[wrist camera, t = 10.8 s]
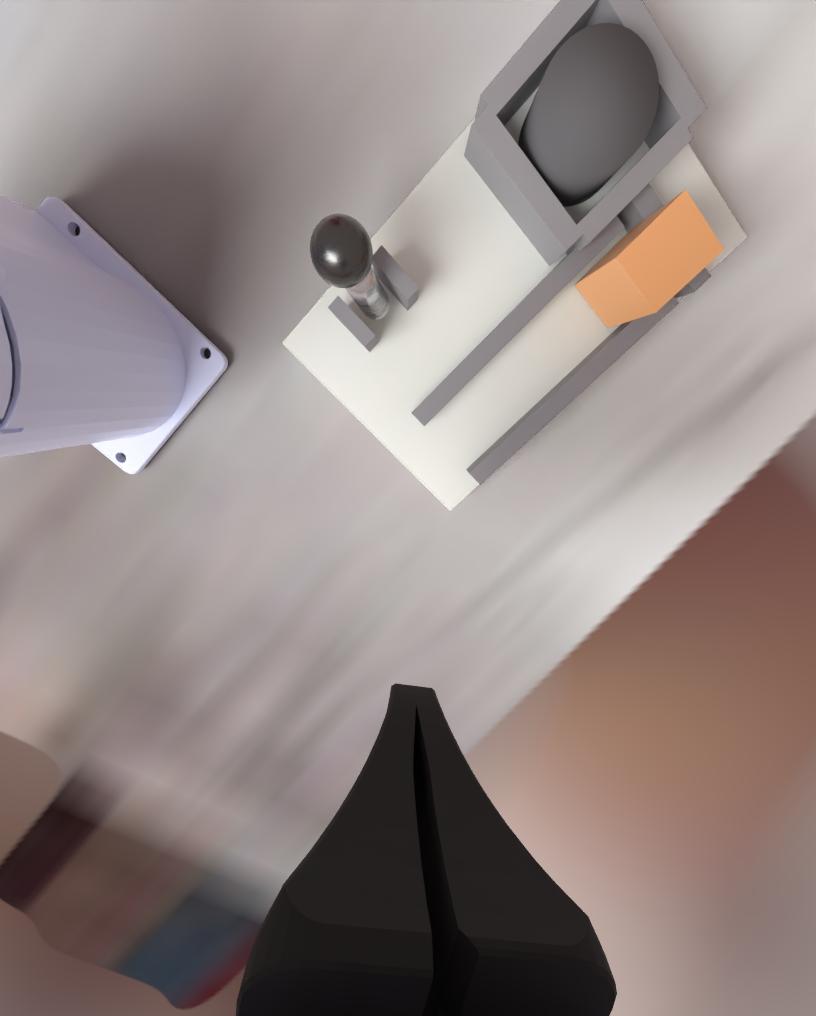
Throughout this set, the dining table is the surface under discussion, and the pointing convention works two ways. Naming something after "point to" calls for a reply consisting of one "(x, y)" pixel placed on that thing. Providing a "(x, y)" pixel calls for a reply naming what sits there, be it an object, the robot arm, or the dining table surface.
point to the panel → (503, 275)
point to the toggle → (348, 262)
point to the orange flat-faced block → (650, 263)
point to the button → (591, 110)
